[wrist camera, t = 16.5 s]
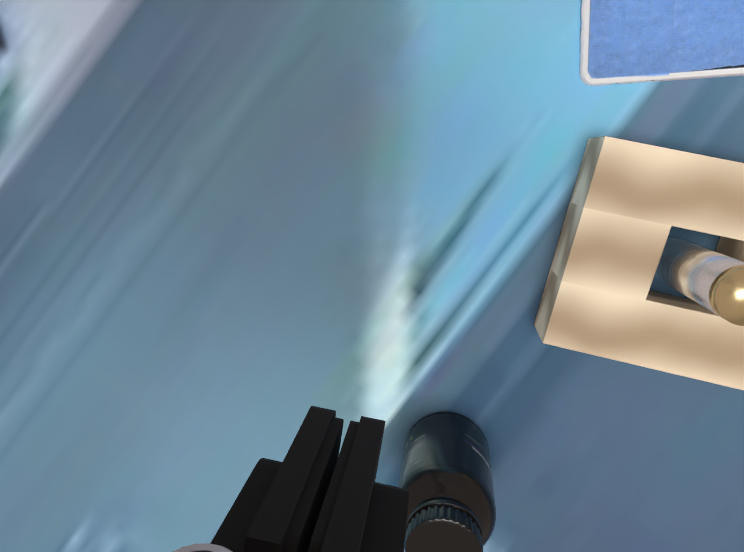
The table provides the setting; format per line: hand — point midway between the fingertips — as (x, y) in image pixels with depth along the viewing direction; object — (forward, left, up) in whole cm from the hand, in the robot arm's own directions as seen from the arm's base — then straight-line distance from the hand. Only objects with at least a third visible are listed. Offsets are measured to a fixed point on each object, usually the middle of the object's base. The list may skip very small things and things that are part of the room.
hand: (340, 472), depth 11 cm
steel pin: (-3, +18, -29) cm, 34 cm away
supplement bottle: (+16, +6, -30) cm, 34 cm away
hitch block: (-3, +18, -29) cm, 34 cm away
